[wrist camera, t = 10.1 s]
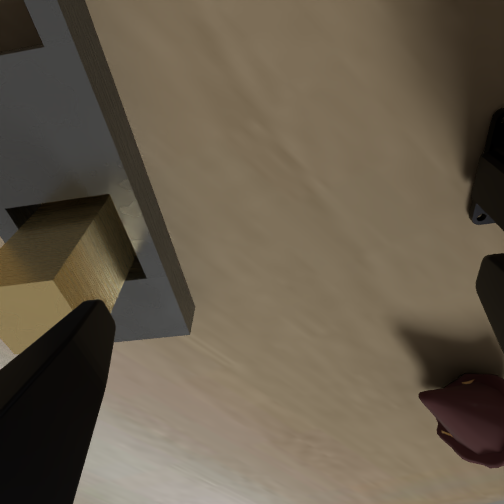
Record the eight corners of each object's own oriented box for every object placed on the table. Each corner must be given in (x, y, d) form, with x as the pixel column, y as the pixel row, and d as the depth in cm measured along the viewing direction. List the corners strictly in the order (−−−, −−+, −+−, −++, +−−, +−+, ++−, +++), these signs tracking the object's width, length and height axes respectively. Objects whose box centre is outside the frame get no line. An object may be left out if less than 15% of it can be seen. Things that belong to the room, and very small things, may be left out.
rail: (-75, -443, 9) (-165, -556, 7) (195, 307, 26) (189, 334, 24) (-328, -354, 10) (-470, -434, 8) (90, 318, 27) (77, 345, 25)
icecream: (387, 456, 26) (502, 484, 32) (489, 444, 21) (603, 480, 27) (374, 363, 30) (478, 403, 36) (456, 334, 25) (561, 386, 31)
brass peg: (116, 185, 20) (52, 280, 14) (141, 242, 23) (95, 346, 16) (50, 195, 21) (-41, 291, 14) (81, 250, 23) (14, 354, 17)
